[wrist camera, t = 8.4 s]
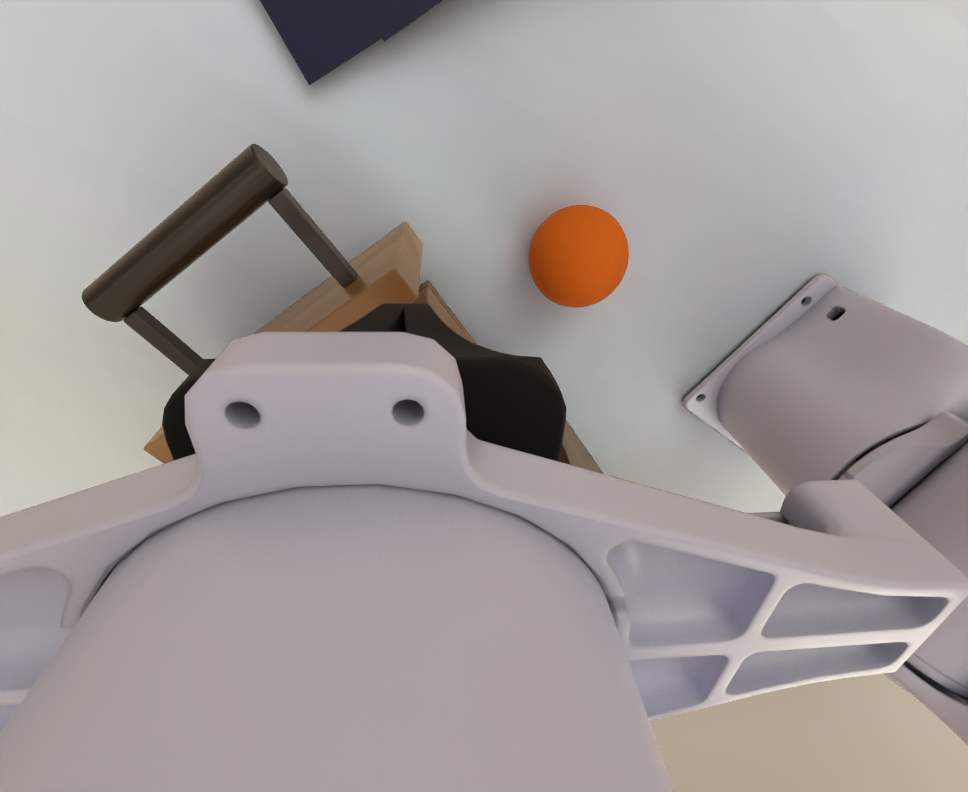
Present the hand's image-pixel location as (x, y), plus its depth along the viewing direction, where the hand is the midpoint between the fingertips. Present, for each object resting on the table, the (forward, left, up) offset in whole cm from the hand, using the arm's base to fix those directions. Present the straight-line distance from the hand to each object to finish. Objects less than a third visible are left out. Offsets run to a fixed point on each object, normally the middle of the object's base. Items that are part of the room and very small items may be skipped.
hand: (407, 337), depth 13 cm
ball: (-4, +6, -8) cm, 10 cm away
